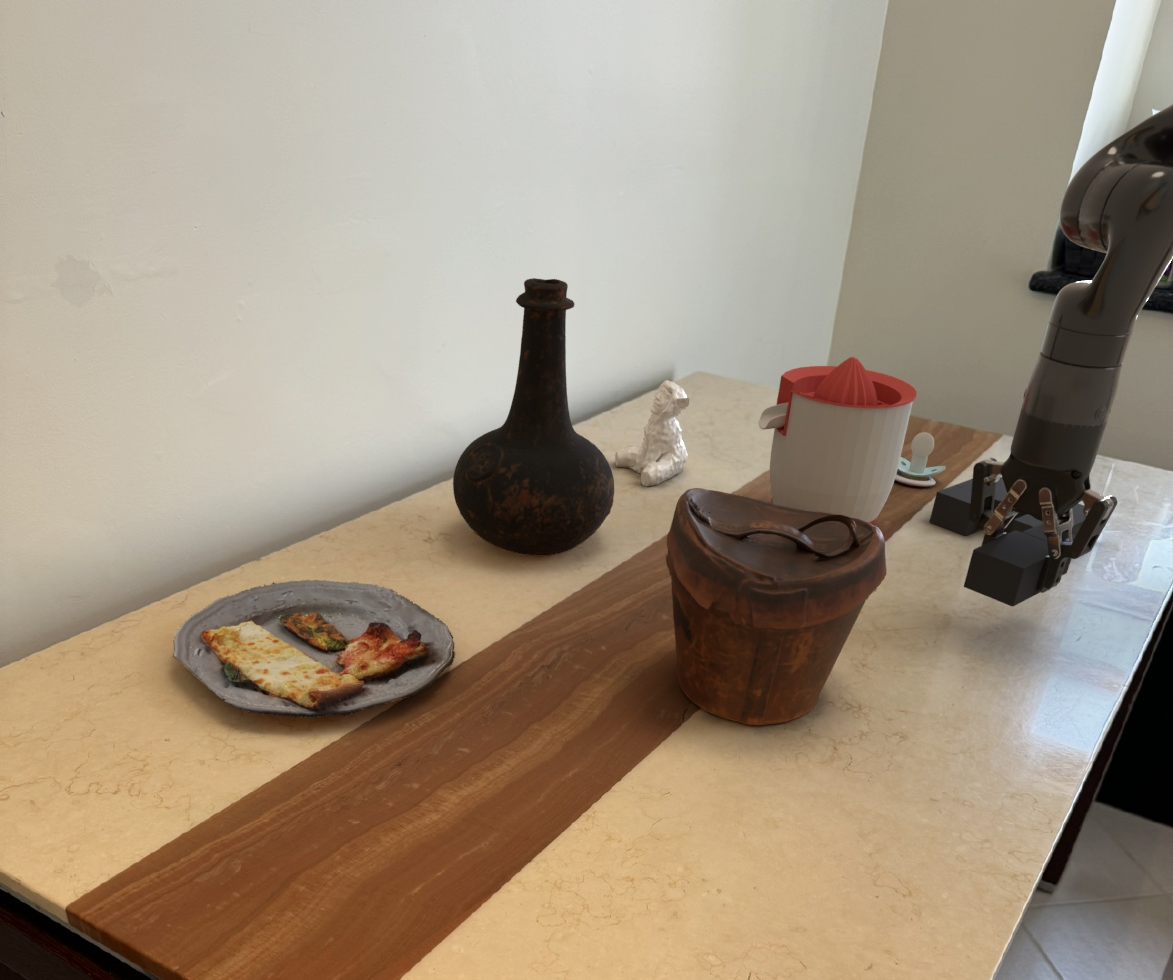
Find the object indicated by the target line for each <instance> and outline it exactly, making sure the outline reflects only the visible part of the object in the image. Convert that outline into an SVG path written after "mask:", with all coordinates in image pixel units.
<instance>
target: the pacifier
mask: <svg viewBox="0 0 1173 980" xmlns="http://www.w3.org/2000/svg"><path fill="white" fill-rule="evenodd" d="M934 448H935V439H934V437H933V435H932V434H930V433H929V432H927V431H923V432H919V433H918V434H916V435H915V436H914V437H913V439H912V441H911V444H910V450H911V452H912V454H911V459H910V461H909V460H908V459H906V458H904V457H902V456H901V457H900V462H899V466H898V470H897V473H896V477H895V480H894V481H896V482H899V483H902V484H905V485H909V486H915V487H932V486H935V485H936V480H935V479H934V478H933V477H932V476H935V475H938V474H940V473H942V472H944V471H945V470H946V468H947V466H946V465H936V466H928V467H927V463H928V460H929V459H928V458H929V456H930V455H931V453H932V452H933V450H934Z"/></svg>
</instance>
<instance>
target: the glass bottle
mask: <svg viewBox="0 0 1173 980" xmlns="http://www.w3.org/2000/svg"><path fill="white" fill-rule="evenodd" d="M523 286H524V292H522V293H520V294H519V295H518V296H517V297H516V299H515V302H516V304H517V305H518V306H519V307H521V308H522V309H523V316H522V317H523V318H522V331H521V339H520V352H519V360H518V368H517V374H516V381H515V387H514V392H513V397H512V401H511V405H510V407H509V411H508V415H507V417H506V419H505V421H504V422H503V424H502V425H501V426H499V427H498V428H495V429H493V430H490V431H487V432H486V433H484V434H482V435H480V436H479V437H477V438H475V439H474V440H473V441H471V443H469V444H468V445H467V447H466V448H465V449H464V450H463V451H462V453H461V454H460V456H459V458H458V460H457V463H456V465H455V468H454V472H453V477H452V489H453V496H454V501H455V504H456V507H457V509H458V511H459V515H460V516H461V517H462V518H463V520H464V521H465V523H466V524H467V525H468V526H469V528H470V529H471V530H472V531H473V532H474V534H476V535H477V536H479V537H480V538H481V539H482V540H484V541H485V542H487V543H488V544H491V545H493V546H495V547H498V548H499V549H502V550H505V551H507V552H512V553H515V554H519V555H525V556H535V557H545V556H546V557H548V556H553V555H559V554H563V553H565V552H569V551H571V550H573V549H574V548H576V547H578V546H580V545H582V544H583V543H584V542H586V540H588V539H590V538H591V537H592V536H593V535H594V534H595V533H596V532H597V531H598V530H599V528H600V527H601V526H602V525H603V523H604V521H605V520H606V519H607V517H608V515H610V514H611V511H612V507H613V505H614V501H615V500H614V497H615V479H614V474H613V470H612V467H611V465H610V463H609V461H608V459H607V458H606V455H604V453H603V452H602V451H601V449H599V447H597V445H595V444H594V443H593V442H592V441H590V440H589V439H587V438H586V437H584V436H583V435H581V434H579V433H578V432H577V431H575V429H574V427H573V424H572V421H571V416H570V409H569V400H568V399H569V398H568V388H567V364H566V363H567V361H566V360H567V350H566V348H567V347H566V345H567V343H566V339H567V338H566V334H567V333H566V330H567V329H566V326H567V325H566V324H567V323H566V321H567V320H566V319H567V310H571V309H573V308H575V302H574V300H572V299H571V298H569V297H567V296H568V295H567V294H568V287H569V285H568V283H567V282H566V281H564V280H560V279H557V278H549V279H543V278H535V277H532V278H528V279H525V280H524V281H523Z"/></svg>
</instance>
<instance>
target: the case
mask: <svg viewBox="0 0 1173 980" xmlns="http://www.w3.org/2000/svg"><path fill="white" fill-rule="evenodd" d="M666 547H667V554H666V556H665V562H666V566H667V569H668V573H669V576H670V578H671V579H670V580H671V581H670V582H671V597H672V598H671V599H672V613H673V615H672V616H673V627H674V628H673V629H674V639H675V640H674V642H675V654H676V669H677V670H676V671H677V680H678V684H679V686H680V688H681V690H682V692H683V694H684V695H685V696H686V697H687V698H688V699H689V700H690V701H691V702H692V703H693V704H695V706H698V707H699V708H701V709H703V710H704V711H706V712H708V713H710V714H712V715H715V716H718V717H720V718H724V719H727V720H730V721H734V722H738V723H741V724H745V725H750V726H765V725H775V724H783V723H787V722H790V721H793V720H795V719H798V718H801V717H803V716H805V715H806V714H808V713H810V712H811V711H812V710H813V709H814V708H815V706H816V705H817V703H818V701H819V699H820V698H819V697H820V695H821V693H822V691H823V689H824V687H825V685H826V683H827V681H828V679H829V678H830V675H831V673H832V670H833V668H834V666H835V665H836V662H837V660H838V658H839V656H840V654H841V653H842V651H843V648H844V647H845V644H846V642H847V640H848V638H849V636H850V634H851V632H852V630H853V627H854V626H855V624H856V622H857V619H858V617H859V615H860V613H861V611H862V609H863V607H864V605H865V603H866V601H868V599H869V597H870V596H871V595H872V594H873V593H874V592H875V591H876V590H877V589H878V588H879V586H880V585H881V584H882V582H883V581H884V580H885V579H886V576H887V570H888V569H887V561H886V560H887V559H886V540H885V537H884V535H883V533H882V531H881V530H880V528H879V527H877V525H875V524H873V525H872V524H870V523H868V522H866V521H863V520H860V519H857V518H851V517H848V516H844V515H839V514H837V515H836V514H830V513H824V512H814V511H805V510H800V509H795V508H790V507H785V506H778V505H774V504H772V503H769V502H765V501H762V500H758V499H756V498H755V499H754V498H752V497H749V496H743V495H739V494H734V493H728V492H724V491H719V490H712V489H705V488H702V487H701V488H700V487H694V488H689V489H687V490H685V491H684V492H683V493H682V494H681V495H680V496H679V498H678V500H677V502H676V505H675V508H674V511H673V516H672V520H671V524H670V528H669V531H668V532H667V535H666Z"/></svg>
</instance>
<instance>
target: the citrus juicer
mask: <svg viewBox="0 0 1173 980" xmlns="http://www.w3.org/2000/svg"><path fill="white" fill-rule="evenodd" d="M917 398H918V393H917V390H916V388H915V387H914V386H912V385H911V384H910V383H909V382H906V381H904V380H902V379H900V378H898V377H895V376H892V375H890V374H889V375H888V374H885V373H882V372H877V371H875V370H874V371H873V370H869V369H868V370H867V369H866V368H865V367H864V365H863V364H862V362H861V361H860V360H859V359H858V358H857V357H855V356H850V357H848V358H847V359H845V360H844V361H842V362H841V363H840V364H838V365H837V366H836V365H812V366H811V365H809V366H801V367H797V368H791V369H790V370H787V371H785V372H784V373H783V374H781V375H780V381H779V388H778V394H777V398H776V404H775V405H772V406H769V407H767V408H765V409H764V410H763V411H762V412H761V415H760V418H759V420H758V427H759V429H761V430H772V429H774V430H773V436H772V443H771V449H770V450H771V451H770V457H769V458H770V460H769V486H770V493H771V498H770V501H771V504H774V505H778V506H785V507H790V508H795V509H800V510H805V511H814V512H824V513H830V514H836V515H837V514H839V515H844V516H848V517H851V518H857V519H860V520H863V521H866V522H868V523H870V524H872V525H875V522H876V521H877V520H878V519H879V517H880V514H881V512H882V510H883V508H884V506H885V504H886V502H887V501H888V498H889V496H890V493H891V492H892V489H893V486H894V484H895V481H896V480H895V477H896V473H897V470H898V466H899V462H900V457H902V452H903V448H904V444H905V439H906V436H907V435H906V434H907V432H908V431H907V430H908V427H909V426H908V425H909V422H910V416H911V413H912V408H913V403H914V401H915V400H916V399H917Z"/></svg>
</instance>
